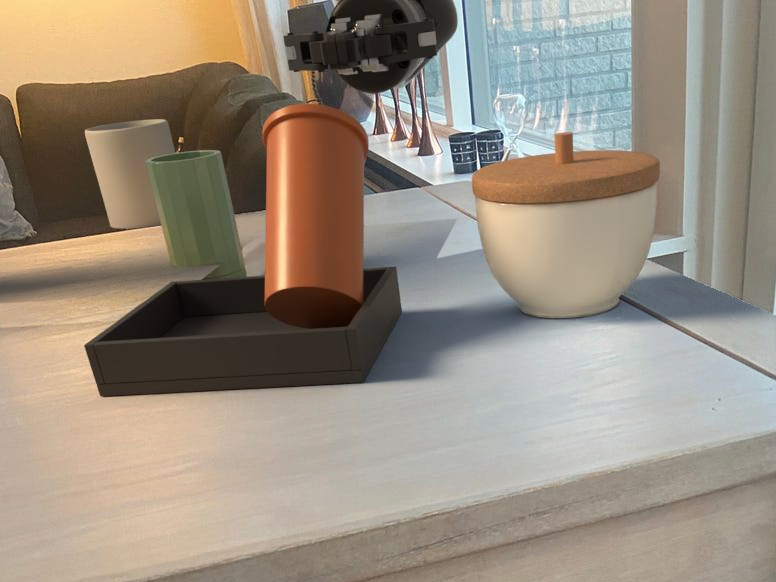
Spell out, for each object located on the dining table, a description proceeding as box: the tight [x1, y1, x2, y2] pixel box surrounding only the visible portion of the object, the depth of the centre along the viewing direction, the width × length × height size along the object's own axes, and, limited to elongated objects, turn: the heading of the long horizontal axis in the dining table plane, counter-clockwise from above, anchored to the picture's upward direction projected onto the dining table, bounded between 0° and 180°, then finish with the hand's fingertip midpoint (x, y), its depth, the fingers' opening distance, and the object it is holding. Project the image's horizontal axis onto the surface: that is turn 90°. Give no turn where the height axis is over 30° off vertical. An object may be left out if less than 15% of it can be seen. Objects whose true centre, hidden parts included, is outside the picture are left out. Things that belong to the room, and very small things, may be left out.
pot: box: [261, 103, 370, 329], centre depth 63 cm, size 7×7×12 cm
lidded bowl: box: [471, 131, 661, 319], centre depth 66 cm, size 13×13×11 cm
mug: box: [84, 118, 176, 229], centre depth 103 cm, size 12×8×11 cm
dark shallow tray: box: [83, 266, 403, 397], centre depth 65 cm, size 17×15×3 cm
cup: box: [145, 149, 248, 280], centre depth 83 cm, size 6×6×10 cm
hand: (337, 52), depth 70 cm, fingers closed
